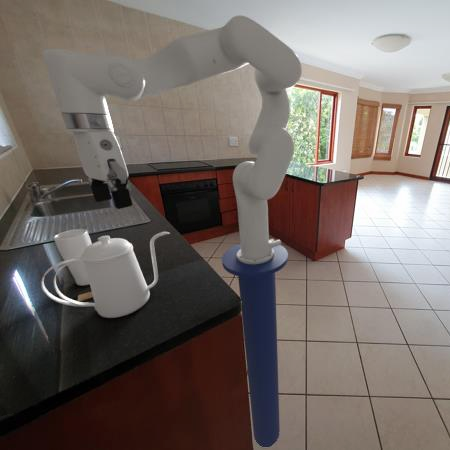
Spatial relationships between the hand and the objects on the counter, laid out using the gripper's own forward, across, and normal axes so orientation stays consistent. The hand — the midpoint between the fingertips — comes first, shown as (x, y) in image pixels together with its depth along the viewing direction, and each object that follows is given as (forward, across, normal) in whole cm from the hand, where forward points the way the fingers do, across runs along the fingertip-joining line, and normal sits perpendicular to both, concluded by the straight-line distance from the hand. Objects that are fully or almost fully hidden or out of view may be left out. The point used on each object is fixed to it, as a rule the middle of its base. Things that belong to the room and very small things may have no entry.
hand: (113, 203), depth 55 cm
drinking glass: (+25, +17, +5) cm, 31 cm away
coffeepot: (+25, -2, +4) cm, 26 cm away
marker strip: (+25, +8, +6) cm, 27 cm away
